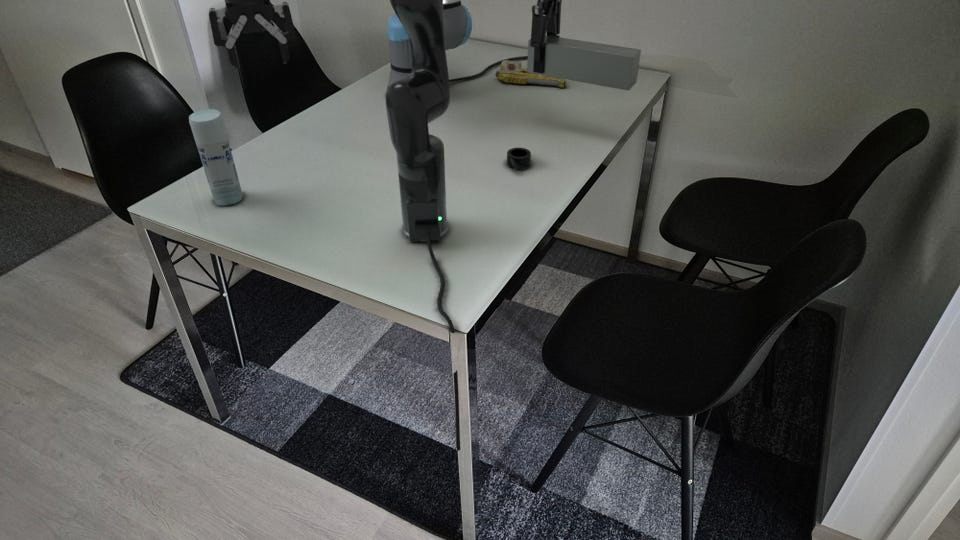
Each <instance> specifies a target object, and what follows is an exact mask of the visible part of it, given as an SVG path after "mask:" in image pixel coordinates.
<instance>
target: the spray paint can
mask: <svg viewBox="0 0 960 540" xmlns="http://www.w3.org/2000/svg"><path fill="white" fill-rule="evenodd" d="M188 123H189V126H190V129H191V133H192V135H193V139H194V141H195V142H194V143H195V145H196V149H197V151H198V154H199V157H200V161H201V163H202V168H203V171H204V174H205V176H206V180H207V183H208V186H209V189H210V193H211V195H212V199H213V201H214V203H215V204H216V205H218V206H231V205H235V204H237V203H239V202H240V201H241V200H242V199H243V197H244V195H243V191H242V187H241V182H240V179H239V175H238V171H237V168H236V164H235V160H234V155H233V153H232V149H231V148H232V147H231V145H230V141H229V138H228V133H227V129H226V127H225V122H224V118H223V114H222V113H221V112H220V111H219V110H217V109H213V108H211V109H209V108H208V109H200V110H197V111H195V112H192V113H191V114H190V115H189V116H188Z"/></svg>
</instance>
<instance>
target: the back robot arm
mask: <svg viewBox="0 0 960 540" xmlns="http://www.w3.org/2000/svg"><path fill="white" fill-rule="evenodd" d="M562 3H563V0H537V2H536V5H535V4H534V5H533V4H532V7H531V14H532V15H531V29H530V30H531V32H530V39H531V43H530V46H531V47H534V65H533V72H536V73H541V74H543V73H544V62H545V47H544V42H545V36H546V35H548V36H554V37H561V36H560V33H561V20H562V19H561V14H562ZM443 16H444V39H445V51H448V50H454V49H457V48H458V47H461V46H463V45H464V44H466V43H467V42H468V40H469V39H470V37H471V34H472V31H473V19H472V15H471V12H470V11H469V9H468V7H467V6H466V5H464V4H462V0H443ZM386 27H387V31H386V36H387V41H388V53H389V62H390V73H389V77H388V81H387V85H386V91H387V90H388V88H389V86H390V85H391V84H392V83H393V82H395V81H397V80H399V79H401V78H403V77H405V76H407V75H409V74H411V72H412V51H411V44H410V40H409V37H408V34H407V32H406V30H405V28H404V27H403V25H402V23H401V22H400V20H399V18H398V17H397V15H396V13H395V12H394V13H393V14H391V15H390V16H389V18H388V19H387V26H386ZM526 59H527V60H528V55H522V56H516V57H509V58H505V59H502V60H498V61H496V62H494V63H492V64H489V65H488V66H487V67H485V68H484V69H483V70H482V71H480V72H479V73H476V74H473V75H467V76H463V77H457V78H449V83H454V82H460V81H466V80H472V79H475V78H478V77H480V76H482V75H484V74H485V73H487V72H488V71H489V70H490V69H492V68H494V67H496V66H498V65H501V63H502V62H503V61H504V60H508V61H518V60H526Z"/></svg>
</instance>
